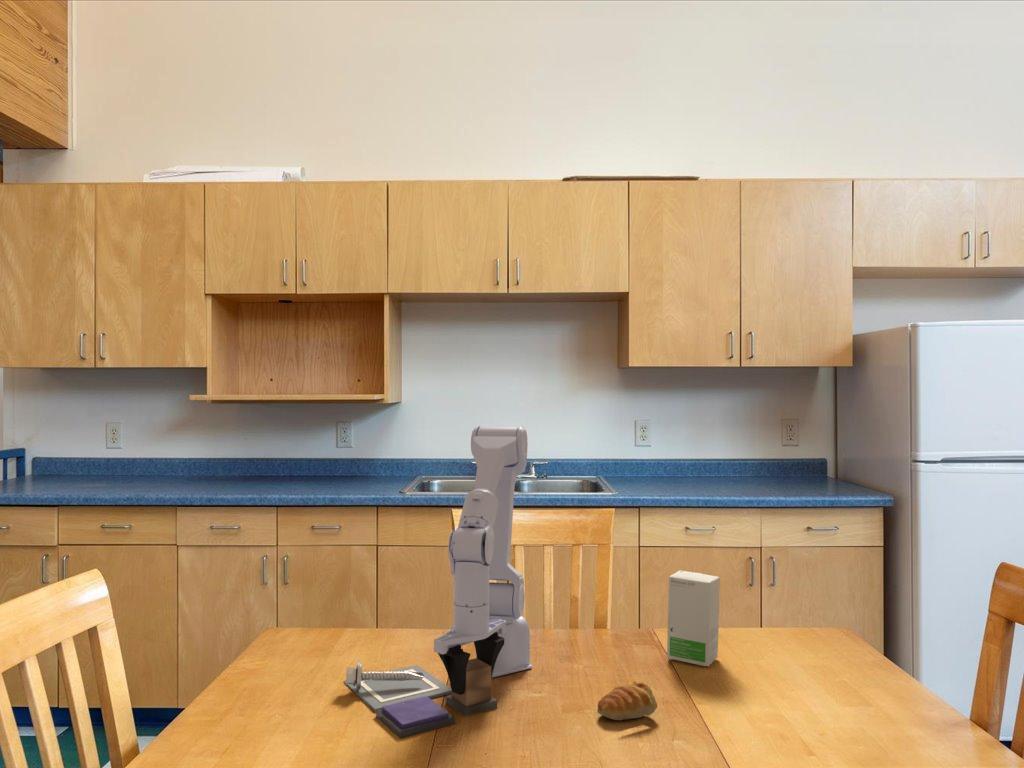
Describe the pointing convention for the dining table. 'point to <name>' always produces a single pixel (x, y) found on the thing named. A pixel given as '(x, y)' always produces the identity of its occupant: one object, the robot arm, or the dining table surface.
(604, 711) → the pastry
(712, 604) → the skincare box
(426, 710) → the ink pad
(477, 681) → the stamp
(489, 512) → the robot arm
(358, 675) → the screw
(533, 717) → the dining table surface
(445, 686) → the marked board
